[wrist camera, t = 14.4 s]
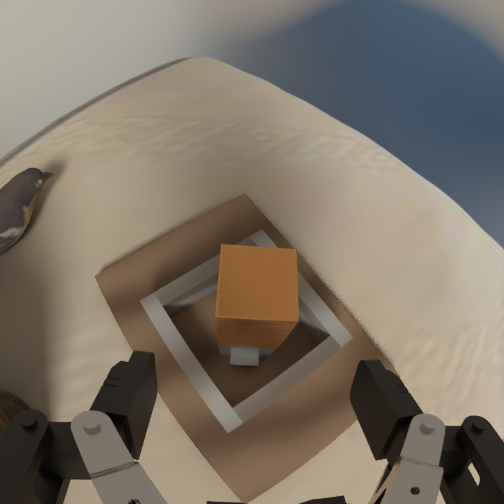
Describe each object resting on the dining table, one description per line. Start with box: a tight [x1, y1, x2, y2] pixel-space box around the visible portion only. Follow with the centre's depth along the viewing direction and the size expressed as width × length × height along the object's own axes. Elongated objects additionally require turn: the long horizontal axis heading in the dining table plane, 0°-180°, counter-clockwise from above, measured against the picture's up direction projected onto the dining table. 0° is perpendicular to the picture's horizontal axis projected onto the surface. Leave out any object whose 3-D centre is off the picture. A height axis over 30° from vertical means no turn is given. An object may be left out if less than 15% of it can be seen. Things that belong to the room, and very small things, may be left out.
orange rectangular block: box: [215, 244, 299, 368], centre depth 19 cm, size 5×4×10 cm
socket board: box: [95, 194, 400, 503], centre depth 23 cm, size 22×16×4 cm
